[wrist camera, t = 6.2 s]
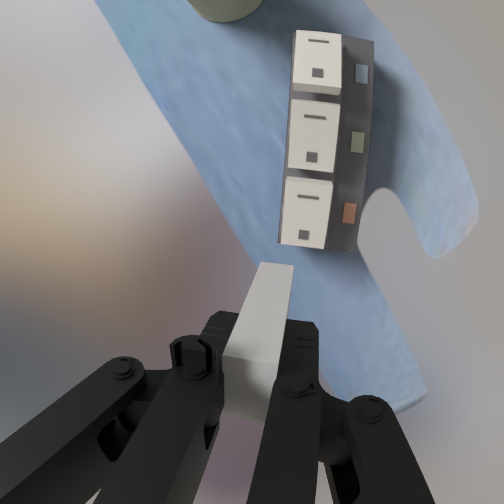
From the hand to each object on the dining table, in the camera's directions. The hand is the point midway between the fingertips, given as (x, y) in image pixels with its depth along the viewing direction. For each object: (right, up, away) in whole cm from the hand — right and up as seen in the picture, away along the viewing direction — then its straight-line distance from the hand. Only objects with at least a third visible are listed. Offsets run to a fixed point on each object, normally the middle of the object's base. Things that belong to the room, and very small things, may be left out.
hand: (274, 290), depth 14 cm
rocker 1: (+5, +18, +8) cm, 20 cm away
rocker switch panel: (+7, +14, +17) cm, 23 cm away
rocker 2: (+4, +12, +10) cm, 16 cm away
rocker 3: (+4, +5, +13) cm, 14 cm away
